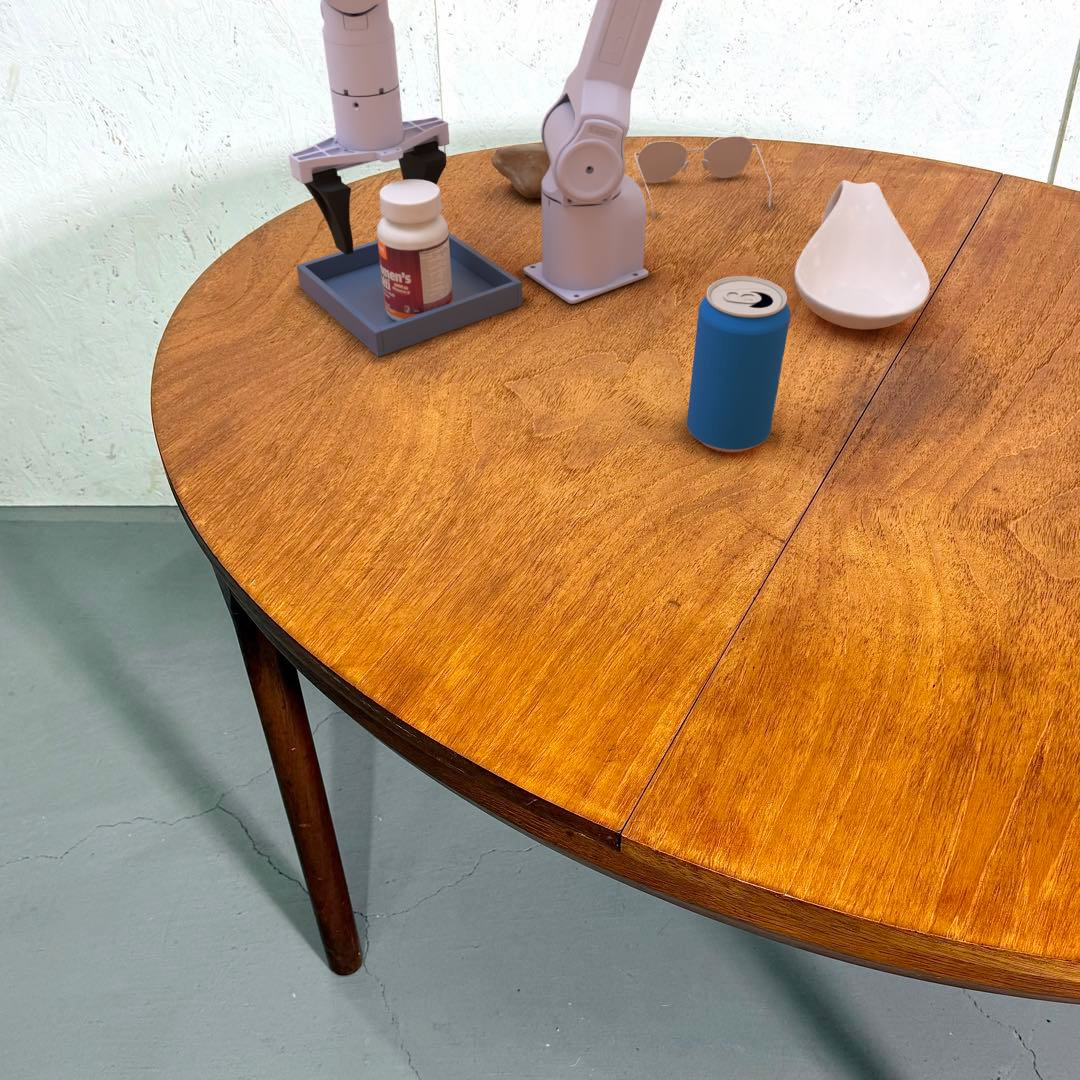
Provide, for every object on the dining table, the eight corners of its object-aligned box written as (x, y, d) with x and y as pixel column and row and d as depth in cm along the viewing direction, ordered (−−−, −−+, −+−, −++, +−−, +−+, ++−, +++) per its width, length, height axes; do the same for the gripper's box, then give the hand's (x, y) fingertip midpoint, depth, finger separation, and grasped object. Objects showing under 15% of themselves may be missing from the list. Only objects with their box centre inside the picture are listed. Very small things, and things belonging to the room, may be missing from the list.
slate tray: (436, 244, 107) (435, 222, 106) (522, 305, 98) (522, 281, 96) (300, 288, 101) (296, 264, 99) (378, 357, 92) (375, 332, 90)
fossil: (595, 146, 111) (503, 134, 108) (595, 187, 111) (503, 176, 108) (567, 176, 120) (482, 166, 117) (567, 214, 120) (481, 205, 117)
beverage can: (767, 462, 80) (791, 322, 72) (681, 453, 81) (696, 313, 73) (771, 414, 85) (794, 277, 77) (690, 405, 86) (704, 269, 78)
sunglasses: (750, 175, 120) (758, 134, 116) (772, 218, 114) (781, 176, 111) (630, 184, 118) (634, 142, 114) (646, 228, 113) (651, 186, 109)
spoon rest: (928, 353, 91) (949, 277, 87) (790, 343, 93) (803, 268, 88) (899, 231, 109) (915, 162, 104) (783, 224, 110) (793, 156, 105)
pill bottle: (371, 313, 96) (356, 193, 89) (419, 287, 100) (409, 169, 92) (419, 335, 93) (408, 213, 86) (467, 308, 97) (460, 188, 89)
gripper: (307, 118, 82) (331, 277, 91) (464, 80, 89) (472, 233, 98) (268, 93, 87) (294, 247, 96) (420, 58, 93) (432, 206, 102)
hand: (381, 238), depth 97 cm, fingers open, 7 cm apart
